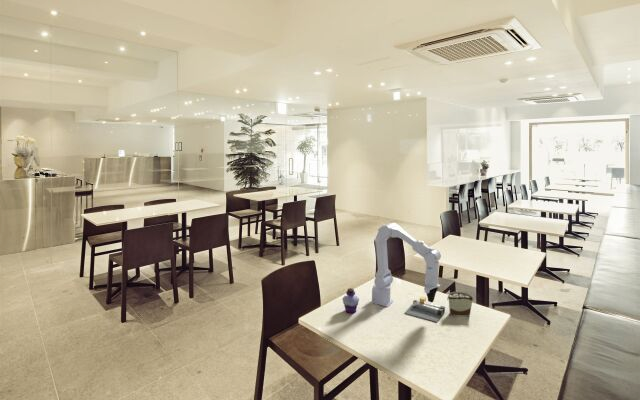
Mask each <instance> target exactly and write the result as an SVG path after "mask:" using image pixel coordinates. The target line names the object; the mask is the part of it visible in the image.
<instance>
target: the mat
mask: <svg viewBox="0 0 640 400" xmlns="http://www.w3.org/2000/svg"><path fill="white" fill-rule="evenodd" d="M404 314H405V315H408V316H411V317H415V318H419V319H423V320H427V321H429V322H434V323H438V322H439V321H440V319H441V318H442V316H440V315H437V314H434V313H431V312H428V311H424V310H421V309H418V308H413V303H411V305H410V306H409V307H408V308H407V309H406V310H405V312H404Z"/></svg>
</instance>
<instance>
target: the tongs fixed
mask: <svg viewBox="0 0 640 400" xmlns="http://www.w3.org/2000/svg"><path fill="white" fill-rule="evenodd" d="M415 300H416V301H418V302H419V303H420V299H415ZM422 304H423V303H422ZM424 304H426V305H429V306H433V307H436V308H440V309H443V314H445V313H446V306H445V305H444V306H443V305H440V304H439V305H438V304H434V303H432V302H427V301H426V302H425V303H424Z"/></svg>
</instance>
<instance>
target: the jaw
mask: <svg viewBox="0 0 640 400" xmlns="http://www.w3.org/2000/svg"><path fill="white" fill-rule="evenodd" d="M416 300H417V299H414V300H413V301H412V304H413V308H418V309H421V310H424V311H428V312H431V313H434V314H437V315H440V316H441V317H442V316H443V314H444V313H443V309H440V308H436V307H433V306H429V305H426V304H422V303H419V302H418V301H416Z"/></svg>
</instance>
